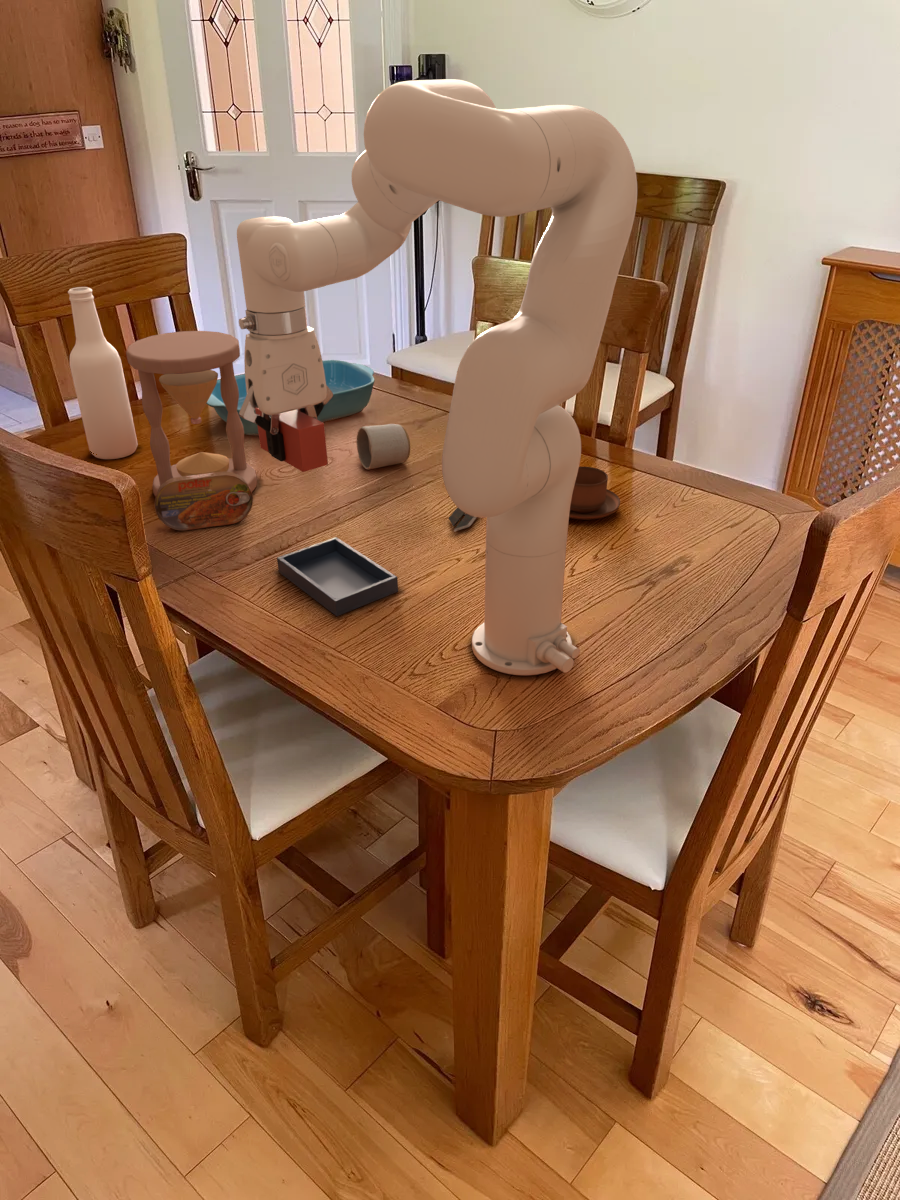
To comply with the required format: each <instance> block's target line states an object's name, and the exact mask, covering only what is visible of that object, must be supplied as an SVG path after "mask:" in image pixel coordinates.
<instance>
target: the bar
mask: <svg viewBox="0 0 900 1200" xmlns="http://www.w3.org/2000/svg"><path fill="white" fill-rule="evenodd" d="M255 411H256V414H258V415H260V416H262V411H260V410H259V408H255ZM257 426H258V425H257ZM325 429H326V428H325V423H324V422H321V421H319V420H317V419H315V418H313V417H310V416H308V415H306V414H304V413H302V412H300V411H298V410H293V411H289V412H285V413H281V414H280V416H279V432H280V433H282V434H283V440H284V448H285V457H286V459H285V461H283V462H284V463H286V464H288V465H290V466H291V467H293V468H294V469H297V470H298V471H299V472H302V473H305V472H308V471H312V470H314V469H319V468H322V467H325V466H329V461H328V450H327V441H326V440H327V439H326V430H325ZM258 433H259V435H258V439H259V446H260V449H262V450H263V451H266V452H267V453H269V451H268V446H267V438H266V431H265V430H264V429H262V428H261V427H260V426H258Z"/></svg>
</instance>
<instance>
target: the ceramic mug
mask: <svg viewBox="0 0 900 1200" xmlns="http://www.w3.org/2000/svg"><path fill="white" fill-rule="evenodd" d="M355 442H356V450H357V455H358V458H359V462H360V464H361V465H362V467H363V468H364V469H365V470H373V469H379V468H383V467H388V466H395V465H399V464H401V463H404V462H406V461H407V460H408V459H409V457H410V455H411V439H410V435H409V433H408V431H407V429H406V428H405V427H404V426H403V425H402V424H398V423H396V424H395V423H387V424H377V425H376V424H375V425H364V426H361V427H359V429H358V430H357V433H356V440H355Z"/></svg>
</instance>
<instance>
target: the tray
mask: <svg viewBox="0 0 900 1200" xmlns="http://www.w3.org/2000/svg"><path fill="white" fill-rule="evenodd" d="M276 563H277V571H278V573H279V574H281V575H282V576H283V577H284V578H286V579H287V580H288V581H290V582H291V583H292V584H294V585H295V586H296V587H298V588H299V589H300V590H302V592H304V593H306V594H307V595H308V596H310V597H311V598H312V599H313V600H315V601H316V603H318V604H320V605H321V606H322V607H324V608H325V609H327V610H328V611H329V612H330V613H332V614H333V615H334V616H336V617H339V616H341V615H344V614H347V613H349V612H351V611H353V610H355V609H359V608H361V607H363V606H366V605H368V604H371V603H374V602H376V601H379V600H381V599H383V598H386V597H388V596H391V595H393V594H396V593H398V592H399V581H398V580H399V577H398V576H397V575H396V574H394V573H392V572H390V571H389V570H387V569H386V568H385V567H383V566H382V565H380V564H378V563H377V562H376V561H374V560H372V559H371V558H370V557H368V556H366V555H365V554H364V553H361V552H360V551H358V550H357V549H355V548H354V547H352V546H351V545H350V544H348V543H347V542H345V541H343V540H342V539H340V538H339V537H337V536H335V537H332V538H329V539H326V540H324V541H321V542H317V543H315V544H311V545H309V546H306V547H303V548H301V549H297V550H295V551H292V552H289V553H286V554H283V555H281V556H277V557H276Z"/></svg>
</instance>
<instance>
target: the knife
mask: <svg viewBox="0 0 900 1200" xmlns="http://www.w3.org/2000/svg"><path fill="white" fill-rule="evenodd" d="M477 518H478V517H474V516H471V515H469V514H467V513H465V512H463V511H462V510H460V509H459V508H458V507H457V506H456V508H455V509H454V511H453V512H452V513H451V514H450V516H448V520H449V522H450V524H451V525H452V527H454V529H453V533H454V532H458V531H460V530H464V529H467V528H469V527H471V526H472V524H473V523H474V522H475V520H476V519H477Z"/></svg>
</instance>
